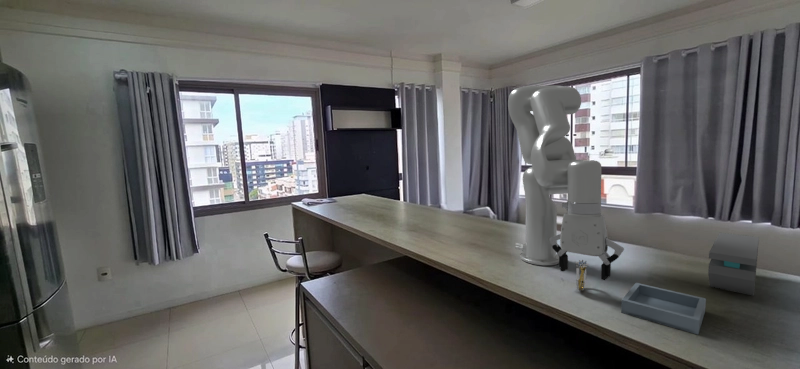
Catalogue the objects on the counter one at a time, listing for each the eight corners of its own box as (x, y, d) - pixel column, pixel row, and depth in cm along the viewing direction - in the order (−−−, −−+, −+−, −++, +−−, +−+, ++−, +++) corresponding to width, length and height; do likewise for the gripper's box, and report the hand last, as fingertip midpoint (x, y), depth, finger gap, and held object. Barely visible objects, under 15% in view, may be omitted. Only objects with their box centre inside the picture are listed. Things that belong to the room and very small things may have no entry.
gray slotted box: (752, 305, 76) (756, 259, 74) (706, 294, 81) (709, 252, 80) (755, 275, 92) (759, 237, 91) (717, 268, 98) (719, 232, 97)
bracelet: (584, 296, 83) (584, 265, 82) (570, 292, 85) (571, 263, 84) (591, 287, 88) (592, 258, 87) (578, 284, 90) (579, 256, 89)
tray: (621, 312, 74) (621, 299, 74) (635, 294, 83) (635, 282, 83) (698, 334, 65) (699, 320, 64) (705, 311, 73) (706, 298, 73)
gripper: (543, 207, 88) (544, 270, 89) (619, 214, 75) (618, 287, 76) (555, 204, 93) (555, 264, 94) (628, 209, 80) (627, 278, 81)
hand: (583, 274), depth 85 cm, fingers open, 9 cm apart
